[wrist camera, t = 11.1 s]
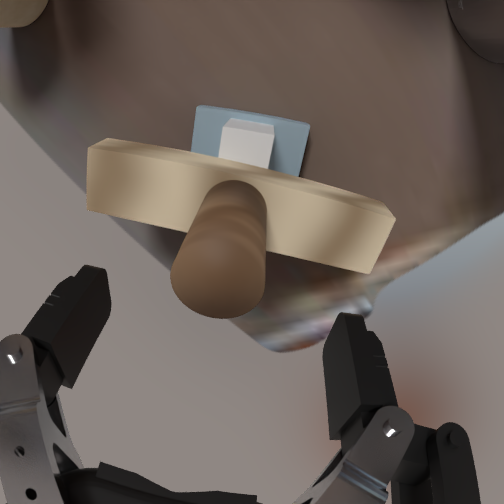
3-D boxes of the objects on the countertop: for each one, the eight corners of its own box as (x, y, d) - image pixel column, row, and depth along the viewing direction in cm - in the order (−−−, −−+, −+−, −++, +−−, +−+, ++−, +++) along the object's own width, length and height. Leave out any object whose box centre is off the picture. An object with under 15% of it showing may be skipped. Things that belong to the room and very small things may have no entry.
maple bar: (382, 202, 19) (444, 288, 11) (360, 253, 21) (399, 353, 13) (107, 138, 17) (14, 190, 10) (104, 194, 19) (26, 269, 12)
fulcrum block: (307, 123, 22) (318, 136, 17) (282, 228, 26) (285, 264, 22) (201, 105, 21) (181, 112, 16) (188, 211, 26) (171, 245, 21)
